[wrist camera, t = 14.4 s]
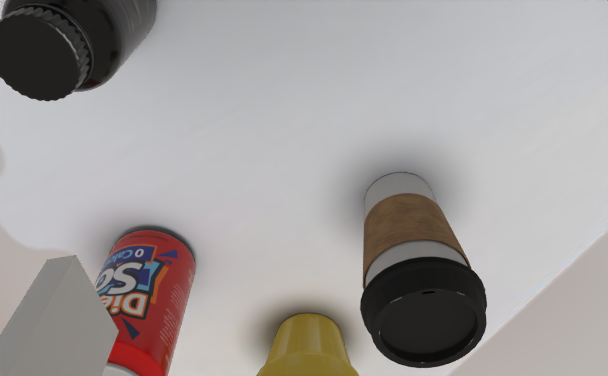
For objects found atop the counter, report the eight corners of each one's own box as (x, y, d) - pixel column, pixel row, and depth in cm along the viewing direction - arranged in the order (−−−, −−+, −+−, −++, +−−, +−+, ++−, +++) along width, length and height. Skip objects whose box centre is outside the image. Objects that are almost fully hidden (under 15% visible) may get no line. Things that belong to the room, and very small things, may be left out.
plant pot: (261, 294, 53) (251, 377, 45) (364, 302, 54) (374, 386, 45) (256, 363, 59) (247, 448, 51) (350, 369, 59) (356, 455, 51)
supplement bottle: (57, -65, 36) (-42, -26, 26) (161, -40, 36) (104, 7, 26) (59, 36, 39) (-27, 104, 29) (154, 56, 40) (101, 130, 30)
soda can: (180, 298, 54) (139, 439, 41) (103, 270, 52) (36, 409, 39) (210, 244, 50) (175, 381, 37) (128, 211, 48) (62, 344, 35)
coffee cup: (446, 153, 44) (500, 278, 32) (446, 233, 49) (493, 371, 36) (344, 164, 45) (357, 292, 32) (354, 243, 49) (368, 381, 37)
